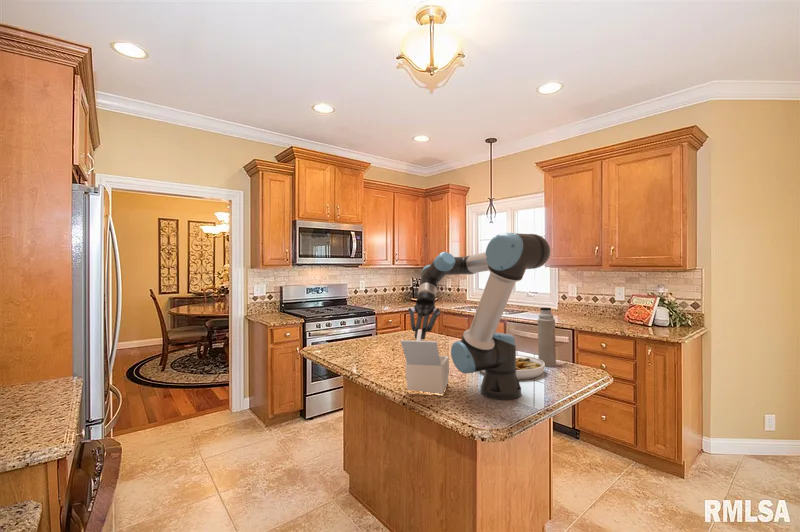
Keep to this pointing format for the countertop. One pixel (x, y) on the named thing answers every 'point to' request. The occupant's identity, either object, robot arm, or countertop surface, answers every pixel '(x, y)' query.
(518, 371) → the bowl
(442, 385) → the white carton
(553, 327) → the thermos bottle
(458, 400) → the countertop surface
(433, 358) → the carton flap
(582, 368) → the countertop surface
